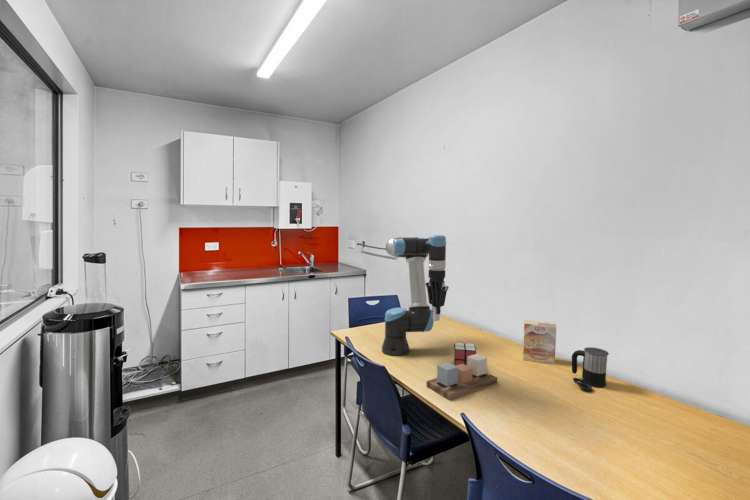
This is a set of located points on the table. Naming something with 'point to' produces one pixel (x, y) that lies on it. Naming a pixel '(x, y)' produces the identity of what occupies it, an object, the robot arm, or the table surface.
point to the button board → (462, 386)
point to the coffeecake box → (539, 341)
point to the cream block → (477, 364)
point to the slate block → (447, 374)
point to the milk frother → (591, 367)
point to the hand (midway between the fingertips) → (436, 320)
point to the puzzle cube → (463, 352)
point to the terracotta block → (464, 373)
